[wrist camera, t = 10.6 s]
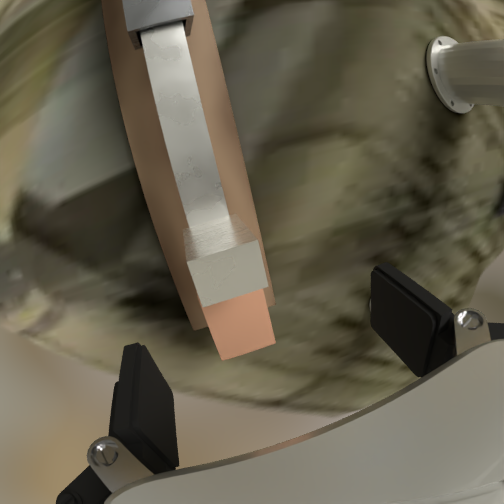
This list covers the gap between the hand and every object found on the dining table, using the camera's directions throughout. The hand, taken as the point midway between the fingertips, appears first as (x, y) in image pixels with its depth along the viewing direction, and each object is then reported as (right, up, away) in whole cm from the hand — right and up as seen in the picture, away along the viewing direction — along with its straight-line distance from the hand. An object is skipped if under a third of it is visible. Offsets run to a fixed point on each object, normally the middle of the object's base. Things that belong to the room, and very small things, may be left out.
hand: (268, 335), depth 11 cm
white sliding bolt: (-5, +10, +11) cm, 16 cm away
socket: (-4, +1, +21) cm, 21 cm away
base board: (-8, +17, +14) cm, 24 cm away
